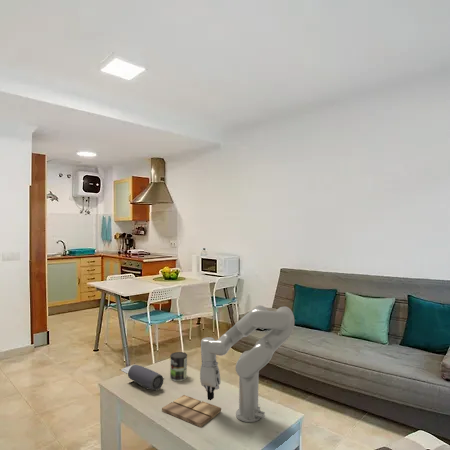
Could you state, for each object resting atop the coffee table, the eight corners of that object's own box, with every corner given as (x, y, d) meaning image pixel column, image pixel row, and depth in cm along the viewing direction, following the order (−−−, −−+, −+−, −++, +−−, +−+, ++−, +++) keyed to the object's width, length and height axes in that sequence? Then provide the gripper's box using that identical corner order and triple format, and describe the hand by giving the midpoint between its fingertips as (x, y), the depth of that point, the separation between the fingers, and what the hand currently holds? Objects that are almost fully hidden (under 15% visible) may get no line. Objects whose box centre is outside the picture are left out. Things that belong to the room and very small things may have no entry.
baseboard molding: (148, 386, 205) (164, 380, 214) (148, 381, 205) (164, 375, 214) (118, 371, 226) (134, 366, 235) (118, 367, 226) (134, 362, 235)
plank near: (221, 411, 177) (221, 407, 177) (211, 419, 170) (211, 415, 170) (202, 404, 184) (202, 401, 183) (192, 411, 177) (192, 408, 177)
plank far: (200, 404, 184) (200, 401, 184) (190, 411, 177) (190, 407, 177) (183, 397, 191) (183, 394, 191) (173, 404, 184) (173, 401, 184)
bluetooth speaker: (164, 389, 202) (164, 371, 202) (151, 394, 194) (151, 376, 194) (139, 378, 216) (140, 361, 216) (127, 383, 209) (127, 366, 209)
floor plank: (210, 419, 170) (211, 416, 170) (200, 427, 163) (200, 423, 163) (172, 404, 184) (172, 401, 184) (161, 411, 177) (161, 407, 177)
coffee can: (177, 382, 210) (177, 359, 210) (166, 377, 217) (167, 354, 217) (190, 377, 217) (190, 354, 217) (179, 372, 224) (180, 350, 225)
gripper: (225, 362, 178) (227, 399, 178) (202, 358, 187) (203, 392, 186) (216, 367, 172) (218, 405, 171) (193, 362, 180) (194, 398, 180)
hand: (210, 398), depth 179 cm, fingers closed
